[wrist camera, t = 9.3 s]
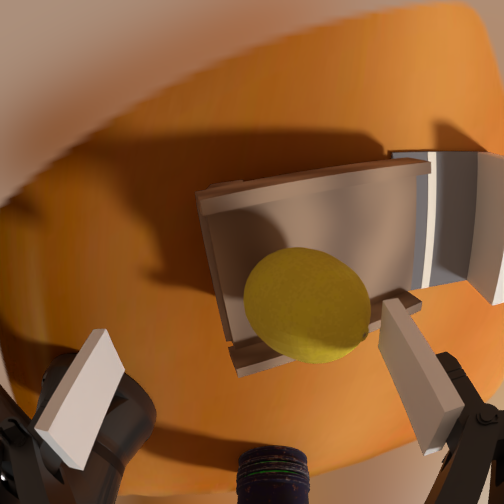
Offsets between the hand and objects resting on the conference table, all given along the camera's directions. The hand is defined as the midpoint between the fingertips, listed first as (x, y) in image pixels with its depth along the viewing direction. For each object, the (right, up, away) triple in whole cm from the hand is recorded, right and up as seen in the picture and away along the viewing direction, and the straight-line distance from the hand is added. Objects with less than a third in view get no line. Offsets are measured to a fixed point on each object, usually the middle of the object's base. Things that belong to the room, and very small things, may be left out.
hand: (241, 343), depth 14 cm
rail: (+21, +7, +9) cm, 24 cm away
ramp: (+6, +5, +10) cm, 13 cm away
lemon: (+1, +3, +5) cm, 6 cm away
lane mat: (+17, +7, +9) cm, 20 cm away
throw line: (+15, +7, +9) cm, 19 cm away
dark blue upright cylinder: (+3, -25, +24) cm, 35 cm away
